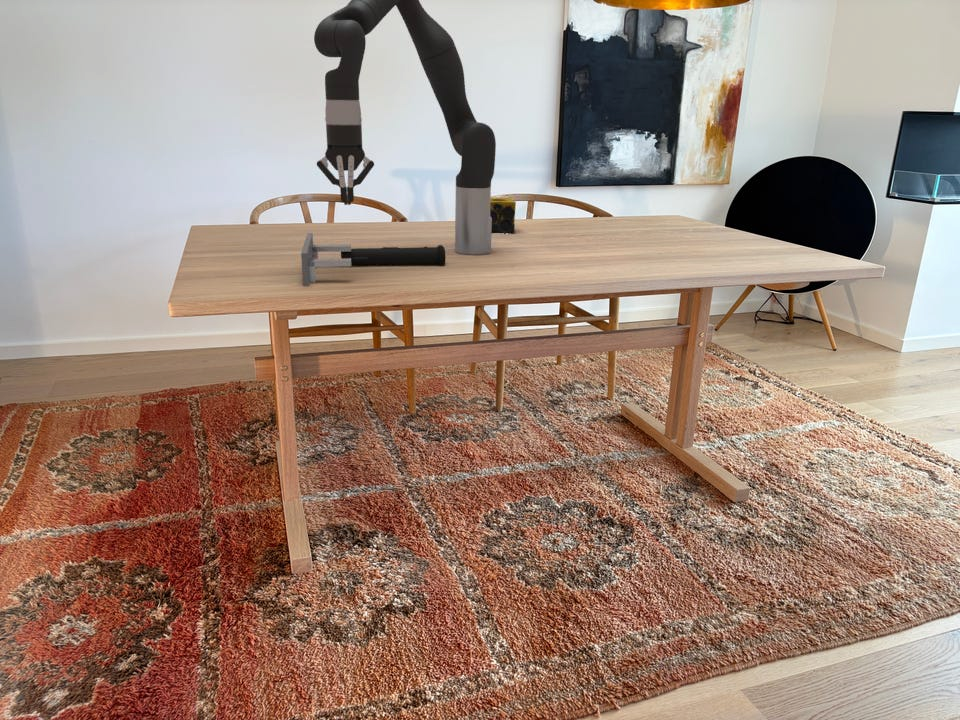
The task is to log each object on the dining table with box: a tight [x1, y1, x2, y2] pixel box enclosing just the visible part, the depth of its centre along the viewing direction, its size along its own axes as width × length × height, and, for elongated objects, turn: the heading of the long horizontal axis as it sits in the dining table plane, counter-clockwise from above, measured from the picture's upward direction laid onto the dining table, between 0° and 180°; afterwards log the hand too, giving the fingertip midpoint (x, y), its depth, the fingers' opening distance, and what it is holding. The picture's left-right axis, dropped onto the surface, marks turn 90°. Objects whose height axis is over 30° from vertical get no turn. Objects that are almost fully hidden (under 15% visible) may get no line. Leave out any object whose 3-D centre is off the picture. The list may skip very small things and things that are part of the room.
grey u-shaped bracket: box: [308, 243, 352, 284], centre depth 166 cm, size 9×18×6 cm, turn 10°
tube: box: [340, 244, 447, 267], centre depth 177 cm, size 25×6×6 cm, turn 101°
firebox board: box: [300, 232, 314, 287], centre depth 165 cm, size 1×24×8 cm, turn 10°
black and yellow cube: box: [490, 196, 517, 235], centre depth 227 cm, size 10×10×10 cm
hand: (347, 204), depth 162 cm, fingers closed
